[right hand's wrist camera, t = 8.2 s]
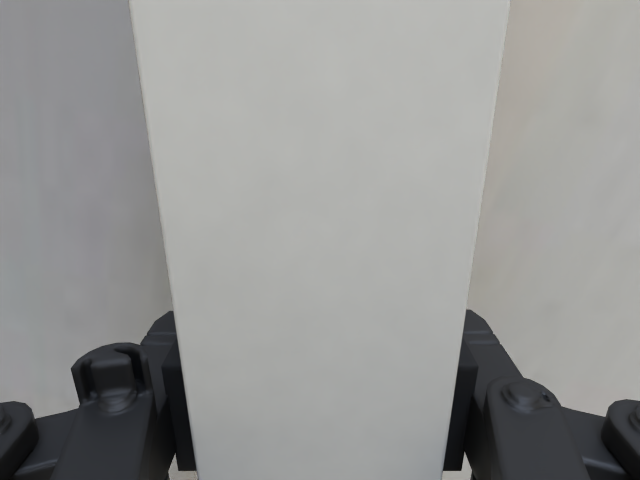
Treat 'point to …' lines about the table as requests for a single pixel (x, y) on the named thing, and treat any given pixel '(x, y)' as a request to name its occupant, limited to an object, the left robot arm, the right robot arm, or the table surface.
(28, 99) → the table surface
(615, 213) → the table surface
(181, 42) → the bar
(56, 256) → the table surface
